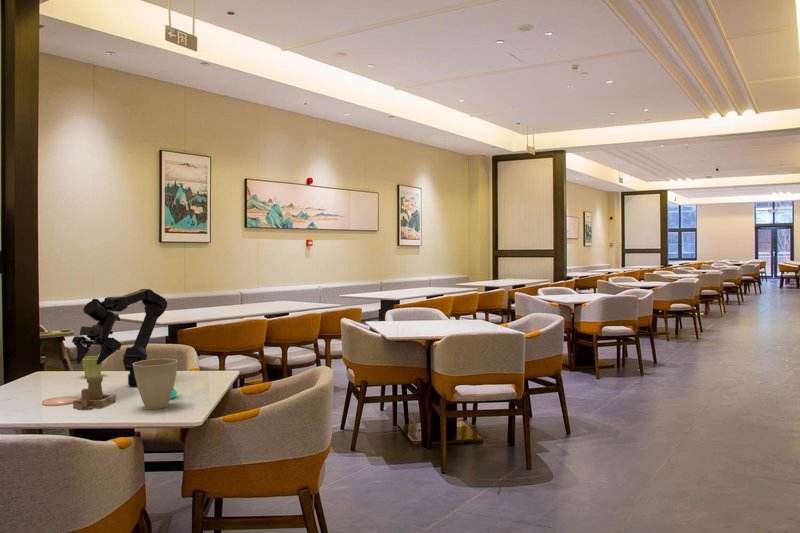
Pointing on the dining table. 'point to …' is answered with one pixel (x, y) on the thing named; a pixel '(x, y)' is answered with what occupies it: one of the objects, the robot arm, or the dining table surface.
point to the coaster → (59, 401)
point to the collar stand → (92, 401)
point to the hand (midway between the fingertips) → (87, 363)
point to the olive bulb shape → (95, 387)
